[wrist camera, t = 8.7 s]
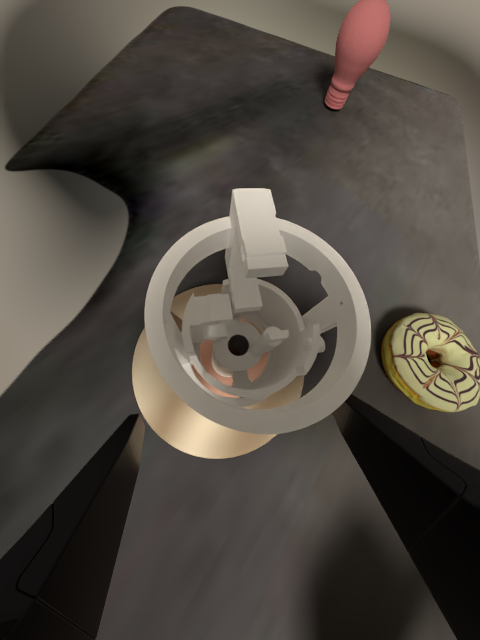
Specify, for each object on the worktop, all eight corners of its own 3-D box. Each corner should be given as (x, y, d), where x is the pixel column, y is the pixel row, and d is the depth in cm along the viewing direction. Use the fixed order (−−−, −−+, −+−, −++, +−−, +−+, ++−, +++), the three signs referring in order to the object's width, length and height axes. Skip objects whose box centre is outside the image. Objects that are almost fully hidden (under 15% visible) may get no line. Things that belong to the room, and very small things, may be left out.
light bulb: (335, 125, 38) (387, 14, 27) (306, 104, 39) (344, -12, 28) (356, 112, 40) (412, 4, 29) (328, 92, 41) (371, -20, 30)
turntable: (327, 349, 22) (333, 347, 21) (235, 499, 17) (237, 506, 16) (212, 262, 24) (212, 256, 23) (97, 375, 19) (90, 374, 18)
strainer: (257, 320, 21) (354, 184, 7) (271, 392, 19) (447, 410, 5) (186, 328, 20) (127, 184, 6) (193, 407, 18) (132, 486, 4)
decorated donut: (468, 362, 26) (509, 358, 22) (431, 431, 23) (472, 438, 19) (401, 304, 28) (429, 291, 24) (357, 360, 24) (382, 355, 21)
